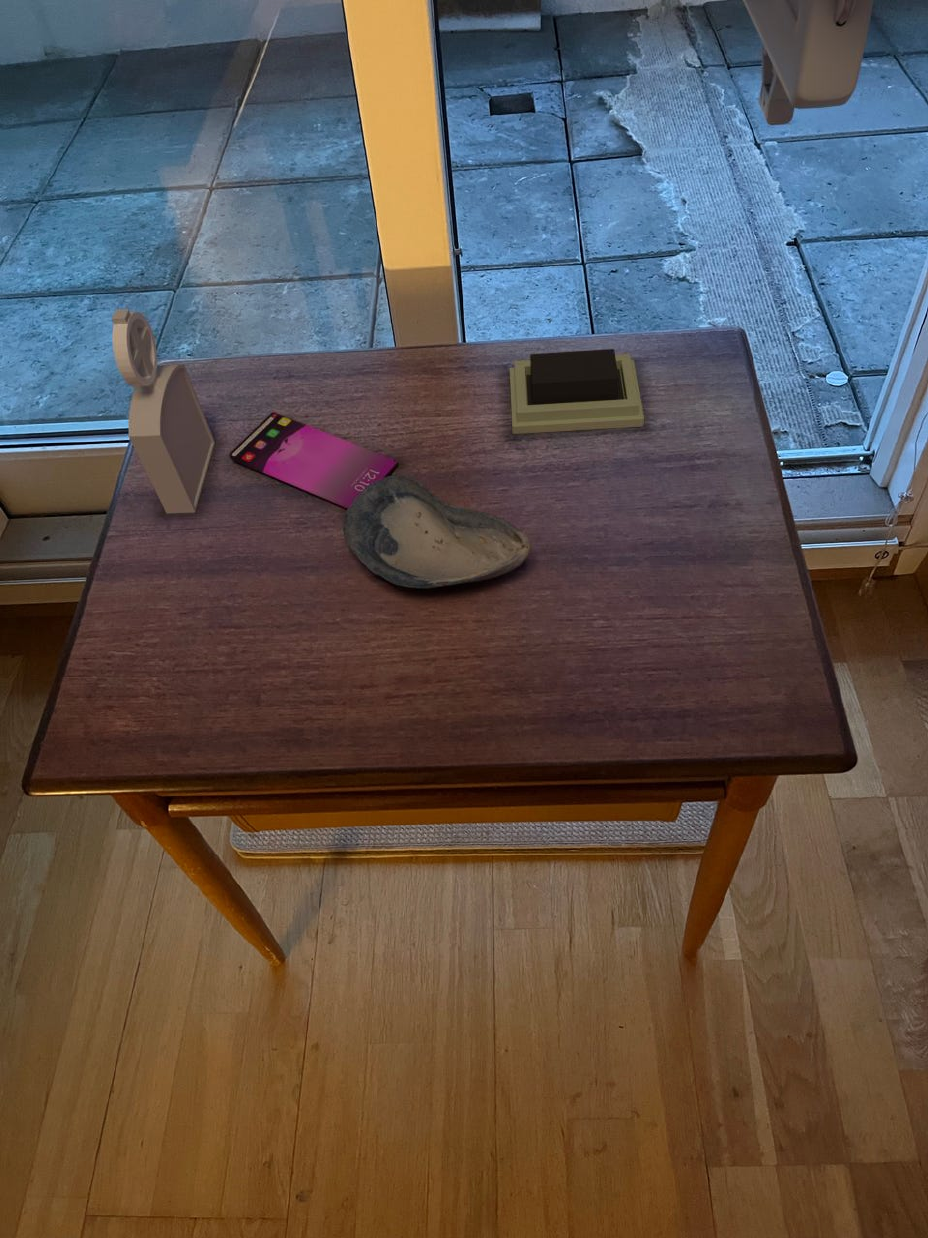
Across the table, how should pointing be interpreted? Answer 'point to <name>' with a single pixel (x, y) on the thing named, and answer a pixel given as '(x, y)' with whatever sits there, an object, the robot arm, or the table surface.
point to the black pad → (574, 377)
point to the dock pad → (575, 404)
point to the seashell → (428, 537)
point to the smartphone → (311, 459)
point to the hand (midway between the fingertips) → (774, 115)
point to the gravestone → (162, 416)
